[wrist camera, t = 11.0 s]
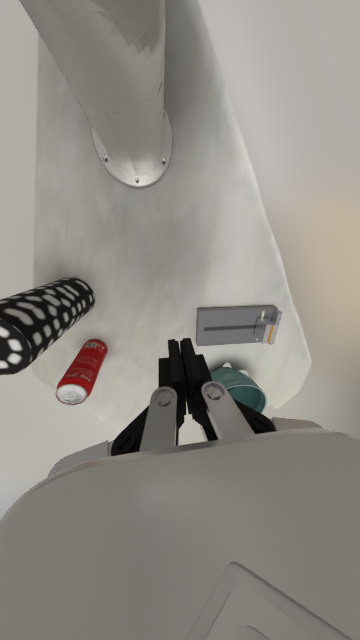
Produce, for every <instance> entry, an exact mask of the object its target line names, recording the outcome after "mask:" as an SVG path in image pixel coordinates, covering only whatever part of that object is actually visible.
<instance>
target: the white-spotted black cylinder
mask: <svg viewBox="0 0 360 640" xmlns="http://www.w3.org/2000/svg"><path fill="white" fill-rule="evenodd" d="M94 303H95V296H94V293H93V291H92V289H91V288H90V287H89V285H87V284H86V283H85V282H84V281H82V280H80V279H77V278H71V277H69V278H64V279H61V280H58V281H55V282H52V283H49V284H46V285H43V286H40V287H37V288H34V289H31V290H29V291H25V292H23V293H19V294H16V295H13V296H11V297H7V298H4V299H1V300H0V375H9V374H15V373H18V372H20V371H22V370H24V369H25V368H26V367H28V365H30V364H31V363H32V362H33V361H34V360H35V359H36V358H37V357H39V356H40V355H41V354H42V353H43V352H44V351H45V350H46V349H47V348H48V347H50V346H51V345H52V344H53V343H54V342H55V341H56V340H57V339H58V338H60V337H61V336H62V335H63V334H64V333H65V332H66V331H67V330H68V329H69V328H71V327H72V326H73V325H74V324H75V323H76V322H77V321H78V320H79V319H81V318H82V317H83V316H84V315H85V314H86V313H87V312H88V311H89V310H90V309H92V307H93V306H94Z"/></svg>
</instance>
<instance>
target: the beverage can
mask: <svg viewBox="0 0 360 640" xmlns="http://www.w3.org/2000/svg"><path fill="white" fill-rule="evenodd" d="M106 353H107V347H106V345H105V344H104V343H103V342H101V341H98V340H90V341H88V342H86V343H85V344H84V346H83V347H82V349H81V350H80V352H79V353H78V355H77V356H76V358H75V359H74V361H73V362H72V364H71V365H70V367H69V368H68V370H67V371H66V373H65V374H64V376H63V378H62V379H61V381H60V382H59V384H58V385H57V391H56V398H57V399H58V400H59V401H60V402H61V403H64V404H66V405H77V404H80V403H82V402H84V401H85V400H86V398H87V397H88V396H89V395H90V394H91V391H92V389H93V386H94V383H95V381H96V378H97V376H98V373H99V371H100V368H101V366H102V363H103V361H104V358H105V356H106Z"/></svg>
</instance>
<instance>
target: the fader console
mask: <svg viewBox="0 0 360 640" xmlns="http://www.w3.org/2000/svg"><path fill="white" fill-rule="evenodd" d="M281 315H282V312H280V311H278V310H277V307H275V306H273V305H263V306H239V307H214V308H197V330H196V344H197V346H209V345H225V344H240V343H256V342H260V341H259V340H258V339H257V338H256V337H255V336H254V332H255V327H256V322H257V318H270V319H271V320H273V321H274V322H276V323H277V324H279V322H280V319H281ZM269 344H274V343H269Z"/></svg>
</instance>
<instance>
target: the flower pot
mask: <svg viewBox="0 0 360 640" xmlns="http://www.w3.org/2000/svg"><path fill="white" fill-rule="evenodd" d="M210 375H211V377H212V380H213V381H215V382H219V383H221V384H222V385H223V386H224V387H225V388H226V389H227V391H228V393H229V394H230V396H231V397H232V398H233V399H235V400H237V401H239V402H241V403H242V404H244V405H246V406H248V407H250V408H252V409H253V410H255V411H257V412H259V413H261V414H262V412H263V411H264V409H265V407H266V403H267V399H266V395H265V393H264V392H263V391H262V390H261V389H260V388H259V387H258V386H257V384H256V383H255V382H254V381H253V380H252V379H251V378H249V377H248V376H246V375H245V374H243V373H241V372H239V371H236V370H234V369H232V368H229V367H221V368H218V369H216V370H214V371H213V372H212V373H211V374H210Z"/></svg>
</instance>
